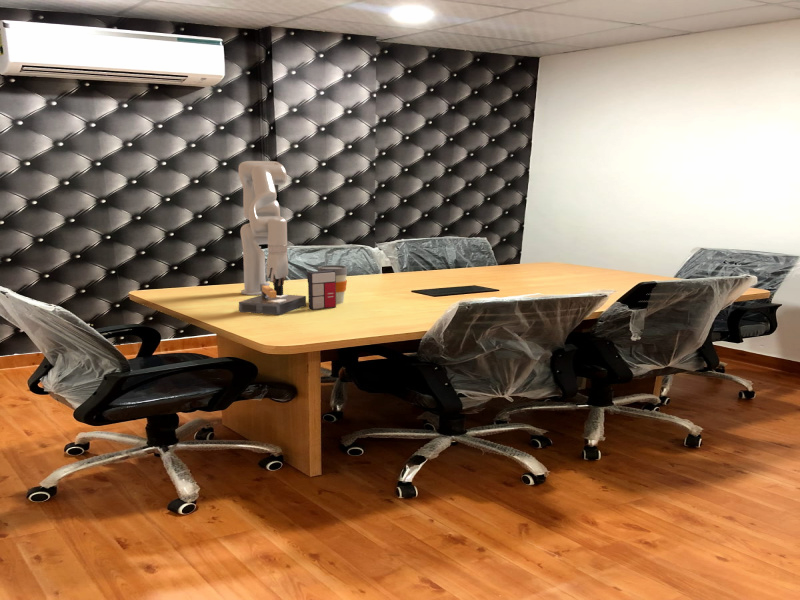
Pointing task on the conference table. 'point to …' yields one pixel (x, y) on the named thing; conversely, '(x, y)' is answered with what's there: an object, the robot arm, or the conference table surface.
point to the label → (277, 300)
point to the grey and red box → (321, 289)
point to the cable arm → (268, 290)
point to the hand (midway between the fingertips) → (278, 295)
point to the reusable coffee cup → (338, 280)
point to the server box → (272, 304)
